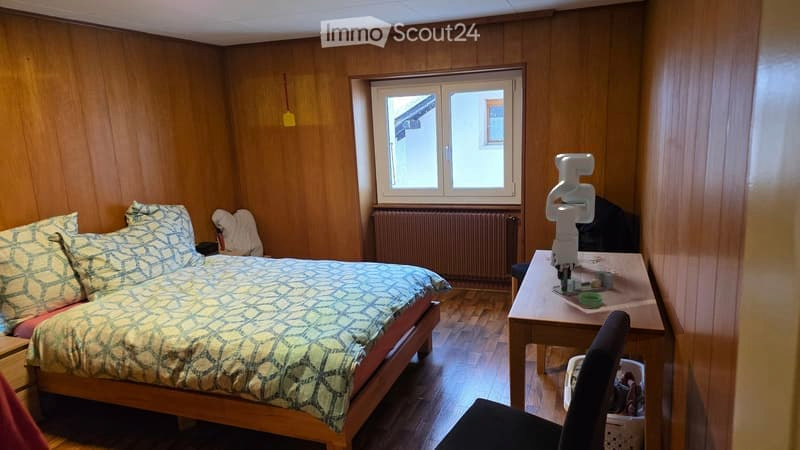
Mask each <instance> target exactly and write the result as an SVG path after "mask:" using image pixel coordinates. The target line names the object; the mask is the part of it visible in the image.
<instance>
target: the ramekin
mask: <svg viewBox="0 0 800 450" xmlns="http://www.w3.org/2000/svg"><path fill="white" fill-rule="evenodd" d="M603 298H604V296H603V295H602V294H599V293H592V292H583V293H580V294H579V295H578V301H579V303H580V304H581V305H583V306H587V307H588V306H589V307H588V308H586V310H591V311H592V310H599V309H601V308H602V306H601V305H602V303H603ZM583 306H581V308H584V307H583Z"/></svg>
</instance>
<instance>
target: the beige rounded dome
mask: <svg viewBox="0 0 800 450" xmlns="http://www.w3.org/2000/svg"><path fill="white" fill-rule="evenodd" d="M590 283H591V287H592V288H601V280H600V279H595V278H592V279H591V281H590Z"/></svg>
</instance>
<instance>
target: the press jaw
mask: <svg viewBox="0 0 800 450" xmlns="http://www.w3.org/2000/svg"><path fill="white" fill-rule="evenodd" d="M568 268H569V264H563V270H562V271H563V272H564V276H563V280H562V281H561V280H560V287H557V288H553V287H552V288H553V289H552V291H554V292H556V293H559V294H561V295H564V294H565V292H572V291H579V290H581V282H583V281H582V280H581V279H580V278H577V277H575V276H573V275H571V279H570V280H569V279H568Z"/></svg>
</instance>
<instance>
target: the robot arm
mask: <svg viewBox="0 0 800 450" xmlns="http://www.w3.org/2000/svg"><path fill="white" fill-rule="evenodd" d="M554 158H555V159H554V162H555V163H554V164H555V166H556V168H557V171H558V184H557V185H556V186H555V187H553V188H552V189H551V191H550V192H549V193H548V195H547V197H546V205H545V217H546V219H547V220H548V221H550V222H556V224H555V227H556V229H555V231H556V232H555V239H553V243H552V247H551V255H550V256H551V257H550V261H551V262H550V263H549V265H550V266H551V267H554V268H555V269H556V270H557V274H556V275H557V279H558V280H560V282H561V281H562V280H563V276H564V272H563V271H562V270H563V264H569V268H568V279H569V280H570V279H571V276H572V271H573V268H577V267H580V266H581V265H582V264H581V262H580V261H579V259H578V256H579V254H578V253H579V252H578V251H579V230H578V228H577V227H576V224H578V223H579V224H590V223H592V222H593V221H594V219H595V205H596V203H595V202H596V190H595V187H594V186H593V184H590V183H580V176H591V175H592V174H593V172H594V170H595V157H594V155H593V154H592V153H561V154H558V155H556V156H555V157H554ZM559 198H560V199H561V201H562V202H564V203H554V202H555V201H556V200H558V199H559Z"/></svg>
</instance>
